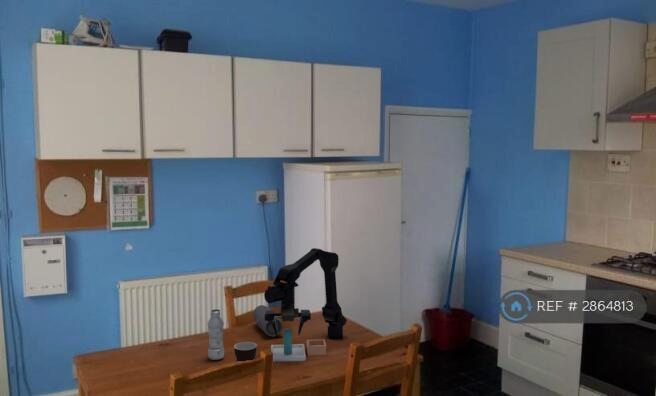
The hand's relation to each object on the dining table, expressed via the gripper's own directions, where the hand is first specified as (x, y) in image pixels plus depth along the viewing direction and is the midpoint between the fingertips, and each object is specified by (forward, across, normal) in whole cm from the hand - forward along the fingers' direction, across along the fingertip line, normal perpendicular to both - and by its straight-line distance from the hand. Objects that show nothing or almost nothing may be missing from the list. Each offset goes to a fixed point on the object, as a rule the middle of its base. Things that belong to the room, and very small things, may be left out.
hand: (287, 335), depth 224 cm
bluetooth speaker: (+8, -9, +30) cm, 33 cm away
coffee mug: (+8, -16, -14) cm, 23 cm away
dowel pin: (+8, 0, 0) cm, 8 cm away
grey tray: (+8, 0, 0) cm, 8 cm away
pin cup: (+8, +12, +2) cm, 15 cm away
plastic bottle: (+8, -29, -2) cm, 30 cm away
